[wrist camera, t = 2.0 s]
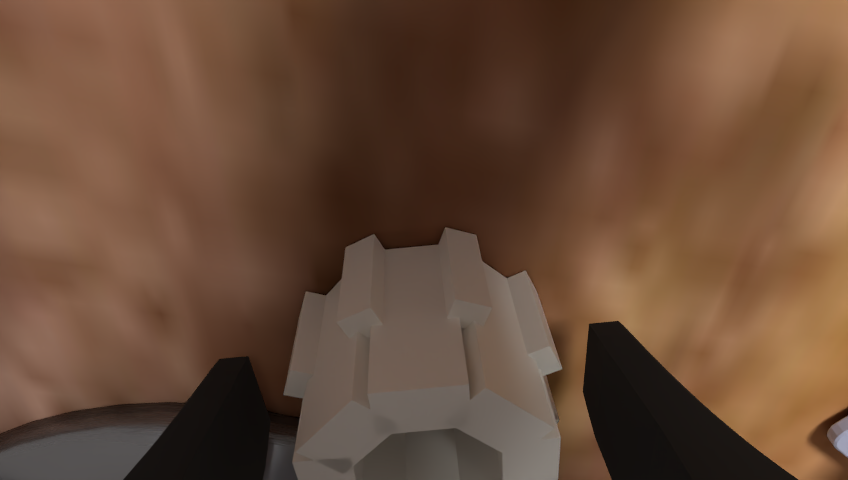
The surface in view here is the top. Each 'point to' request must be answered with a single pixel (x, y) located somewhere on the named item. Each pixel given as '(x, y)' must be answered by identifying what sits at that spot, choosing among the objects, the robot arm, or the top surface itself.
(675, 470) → the robot arm
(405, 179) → the top surface
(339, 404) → the planet gear
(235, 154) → the top surface
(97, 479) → the carrier
